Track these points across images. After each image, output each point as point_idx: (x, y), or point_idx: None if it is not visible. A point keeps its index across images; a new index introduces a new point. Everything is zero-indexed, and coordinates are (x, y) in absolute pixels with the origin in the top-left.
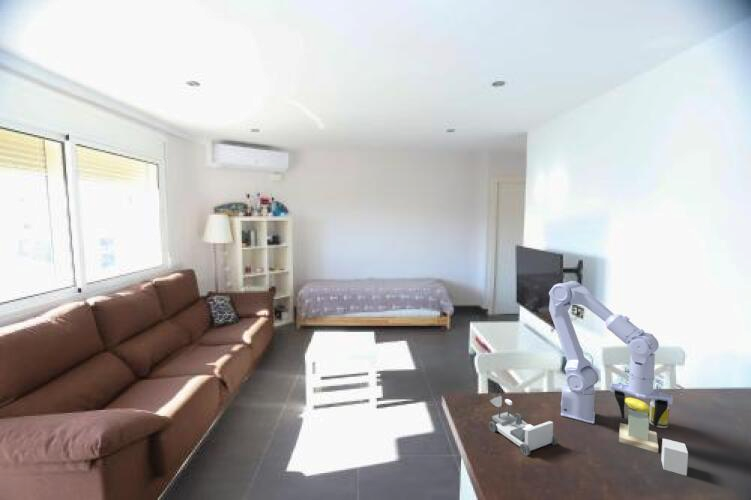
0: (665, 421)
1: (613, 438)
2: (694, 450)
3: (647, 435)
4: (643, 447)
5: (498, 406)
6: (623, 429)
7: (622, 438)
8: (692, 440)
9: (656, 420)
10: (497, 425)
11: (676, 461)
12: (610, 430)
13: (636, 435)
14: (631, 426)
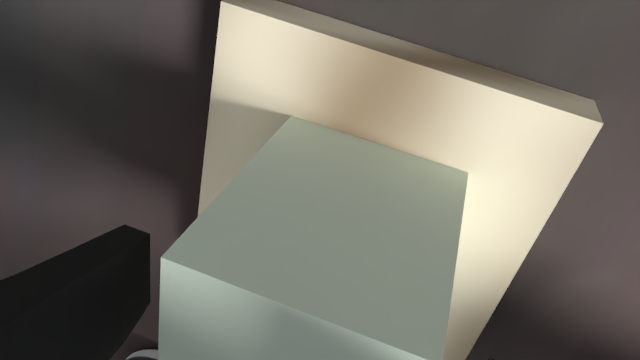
0: None
1: (631, 153)
2: (4, 121)
3: (273, 144)
4: (360, 33)
5: None
6: (467, 282)
7: (564, 109)
8: (17, 240)
9: (63, 271)
10: None
11: None
12: (581, 291)
13: (385, 160)
14: (424, 237)
